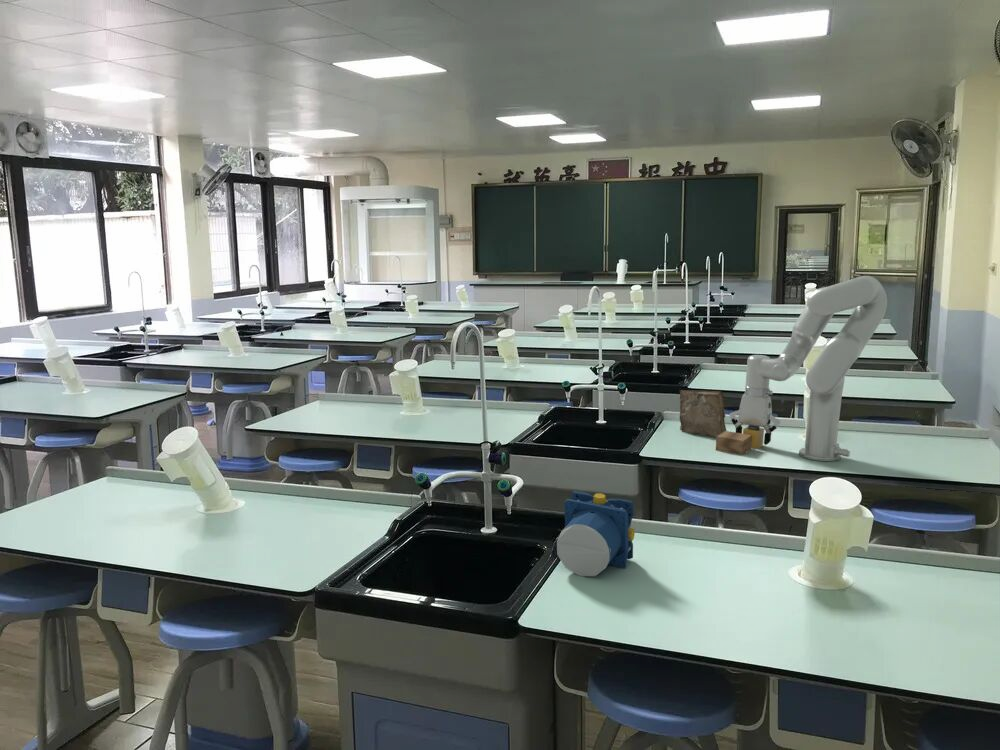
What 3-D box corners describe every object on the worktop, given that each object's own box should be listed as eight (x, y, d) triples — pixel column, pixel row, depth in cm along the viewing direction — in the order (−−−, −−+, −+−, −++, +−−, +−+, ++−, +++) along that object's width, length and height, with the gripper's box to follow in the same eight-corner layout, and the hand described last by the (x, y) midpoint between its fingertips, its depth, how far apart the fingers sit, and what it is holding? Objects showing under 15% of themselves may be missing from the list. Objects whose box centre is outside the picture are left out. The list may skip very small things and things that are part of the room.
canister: (762, 445, 271) (764, 425, 270) (756, 448, 267) (758, 428, 266) (747, 442, 274) (749, 423, 273) (742, 445, 270) (743, 426, 269)
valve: (572, 545, 183) (571, 485, 178) (636, 558, 176) (636, 497, 171) (548, 574, 172) (546, 511, 167) (615, 590, 165) (615, 525, 160)
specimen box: (750, 449, 267) (752, 435, 266) (742, 455, 259) (743, 440, 258) (724, 445, 272) (725, 430, 271) (715, 450, 264) (716, 436, 263)
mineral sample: (726, 436, 282) (729, 392, 279) (723, 439, 278) (726, 394, 275) (678, 429, 291) (680, 386, 288) (674, 431, 287) (676, 388, 284)
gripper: (786, 394, 264) (781, 443, 268) (736, 386, 275) (732, 434, 278) (778, 397, 259) (773, 448, 262) (727, 389, 269) (723, 438, 273)
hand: (752, 441), depth 270 cm, fingers open, 9 cm apart
